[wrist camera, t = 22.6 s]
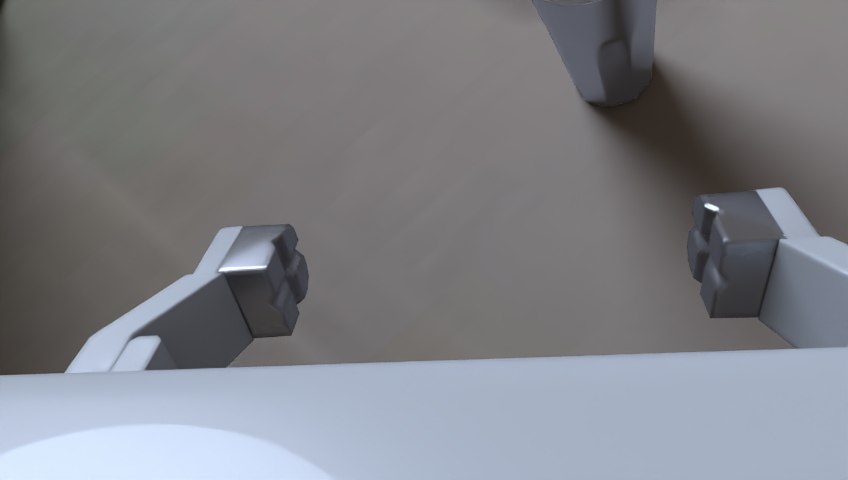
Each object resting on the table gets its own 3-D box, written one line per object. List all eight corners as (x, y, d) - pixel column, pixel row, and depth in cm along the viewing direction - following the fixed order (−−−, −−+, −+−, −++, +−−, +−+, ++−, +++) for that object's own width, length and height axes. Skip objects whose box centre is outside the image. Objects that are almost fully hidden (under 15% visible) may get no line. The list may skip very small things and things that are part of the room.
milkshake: (532, 52, 27) (460, -127, 18) (656, 11, 25) (641, -210, 17) (550, 140, 26) (481, -9, 17) (683, 102, 24) (683, -86, 15)
